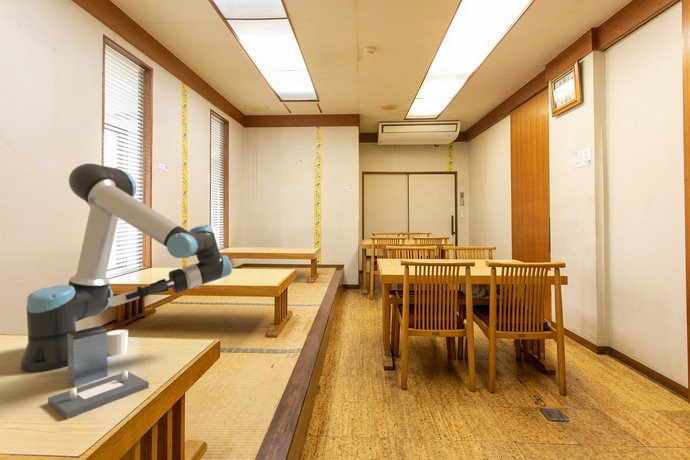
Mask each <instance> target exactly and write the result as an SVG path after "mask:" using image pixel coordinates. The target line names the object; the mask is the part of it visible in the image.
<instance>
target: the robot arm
mask: <svg viewBox="0 0 690 460" xmlns="http://www.w3.org/2000/svg"><path fill="white" fill-rule="evenodd" d="M68 184H69V185H68V186H69V187H70V189H71V191H72V192H73V193H74V194H75V195H76V196H77V197H78V198H80V199H81V200H83V201H85V203H86V204H87V205H88V207H89V208H90V209H89V212H88V217H87V223H86V225H85V226H86V227H85V231H84V237H83V240H82V245H81V250H80V254H79V259H78V265H77V268H76V274H74V275H72V276H71V277H70V278H69V280H68V284H65V285H64V284H61V285H59V284H58V285H54V286H53V285H52V286H49V287H43V288H40V289H37V290H35V291H33V292H31V293H30V294H29V295H28V297H27V298H26V299H27V300H26V301H27V302H26V303H27V304H26V307H25V309H26V320H27V321H26V322H27V336H28V337H27V344H26V347H25V350H24V353H23V356H22V358H21V361H20V369H21V370H22V371H24V372H28V373H29V372H31V373H32V372H34V373H35V372H43V371H49V370H50V371H51V370H56V369H60V368H63V367H68V338H67V333H70V332H75V331H77V330H76V328H77V327H76V325H77V324H76V322H80V321H82V320H84V319H88V318H90V317H95V316H97V315H100V314H101V313H103V312H104V311H106V310H107V309H109V307H117V306H120V305H123V304H126V303H129V302H132V301H137V300H138V299H140V298H144V297H146V298H147V297H148V296H151V295H153V294H154V295H155V294H159V293H165V292H167V291H169V289H170V288H171V289H172V291H173V292H174V293H175V294H179V293H181V292H185V291H187V290H188V289H190V290H191V289H193V288H195V289H199V286H202V285H205V284H209V283H211V282H214V281H218V280H221V279H222V278H225V277H227V276H230V275H231V274H232V271H233V266H232V263H231V260H230V258H229V257H228V256H227V255H225V254H224V255H221V253H220V250H219V246H218V243H217V239H216V237H215V233H214V231H213V228H212V226H211V225H210V224H204V225H203V224H202V225H199V226H195V227H193V228H191V229H189V231H188V230H187V229H185V228H183V227H182V226H181V225H178V224H177V223H176V222H174V221H172V220H170V219H169V218H168V217H166V216H164V215H163V214H161V213H160V212H158V211H156V210H155V209H153V208H151V207H149V206H148V205H146V204H145V203H143V202H141V201H140V200H138V199H137V198H135V195H136V193H137V183H136V180H135V178H133V176H132V175H131V174H130V173H128V172H127V171H125V170H122V169H119V168H117V167H112V166H111V167H110V166H105V165H101V164H96V163H83V164H80V165H78V166H76V167H75V168H74V169H73V170H71V172H70V174H69V178H68ZM119 219H120V220H122V221H124V222H125V223H127V224H128V225H130V226H131V227H133V228H135V229H137V230H139V231H140V232H142V233H143V234H145V235H146V236H148V237H150V238H151V239H153V240H154V241H156V242H158V243H160V244H161V245H163V246H165V247H166V249H167V251H168V253H169V254H170V255H171V256H172V257H174V258H176V259H185V258H186V259H187V258H190V257H194V256H196V259H197V261H198V262H196V263H193V264H190V265H187V266H186V265H185V266H183V267H182V268H176V269H173V270H171V271H169V272H168V278H169V279H167V280H166V278H163V279H158V280H157V281H155V282H153V283H150V284H149V285H147V286H145V287H142V286H141V285H139V286H136V289H133V290H131V291H127V292H124V293H121V294H117V295H114V293H113V290H112V287H111V286H110V280H109V279H108V278H107V277H106V275H107V271H108V266H109V261H110V257H111V252H112V248H113V243H114V239H115V235H116V230H117V226H118V221H119Z"/></svg>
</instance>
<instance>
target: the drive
mask: <svg viewBox="0 0 690 460" xmlns="http://www.w3.org/2000/svg"><path fill="white" fill-rule="evenodd" d="M107 332H108V331H107V327H104V326H103V325H98V326H95V327H89V328H84V329H79V330H76V331H75V332H70V333H67V338H68V365H67V370H68V373H67V375H68V384H69V385H70V386H72V388H78V387H81V386H82V385H83V386H84V385H85V384H86V385H87V384H90V383H93V382H96V381H99V380H102V379H105V378H108V377H109V376H108V375H109V374H108V373H109V371H108V367H109V366H108V355H107Z"/></svg>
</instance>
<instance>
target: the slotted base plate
mask: <svg viewBox="0 0 690 460" xmlns="http://www.w3.org/2000/svg"><path fill="white" fill-rule="evenodd" d="M149 383H150V382H149V381H147V380H146V379H144V378H142V377H140V376H137V375H135V374H133V373H131V372H130V371H128V370H123V371H122V372H120V373H118V374H115V375H112V376H108V377H105V378H102V379H99V380H96V381H93V382H90V383H87V384H86V385H85V384H84V385H83V386H82V385H81V386H78V387H71V388H70V389H69V390H68V391H64V392H61V393H58V394H56V395H51V396H49V397H48V398H47V404H48V405H49V406H50V407H52V409H54V410H55V411H56V412H57V413H59V414H60V415H61V416H62V417H64V418H65V419H66V420H69V419H71V418H74V417H76V416H79V415H81V414H84V413H86V412H89V411H91V410H94V409H96V408H100V407H102V406H104V405H107V404H110V403H112V402H115V401H118V400H120V399H123V398H126V397H128V396H131V395H132V394H135V393H137V392H140V391H143V390H145V389H149V387H150V385H149Z"/></svg>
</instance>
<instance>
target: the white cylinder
mask: <svg viewBox="0 0 690 460" xmlns="http://www.w3.org/2000/svg"><path fill="white" fill-rule="evenodd" d="M128 337H129V329H121V328H120V329H115V330H111V331H107V356H112V357H113V356H119V355H123V354H125V353H127V350H128V340H129V339H128Z"/></svg>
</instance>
